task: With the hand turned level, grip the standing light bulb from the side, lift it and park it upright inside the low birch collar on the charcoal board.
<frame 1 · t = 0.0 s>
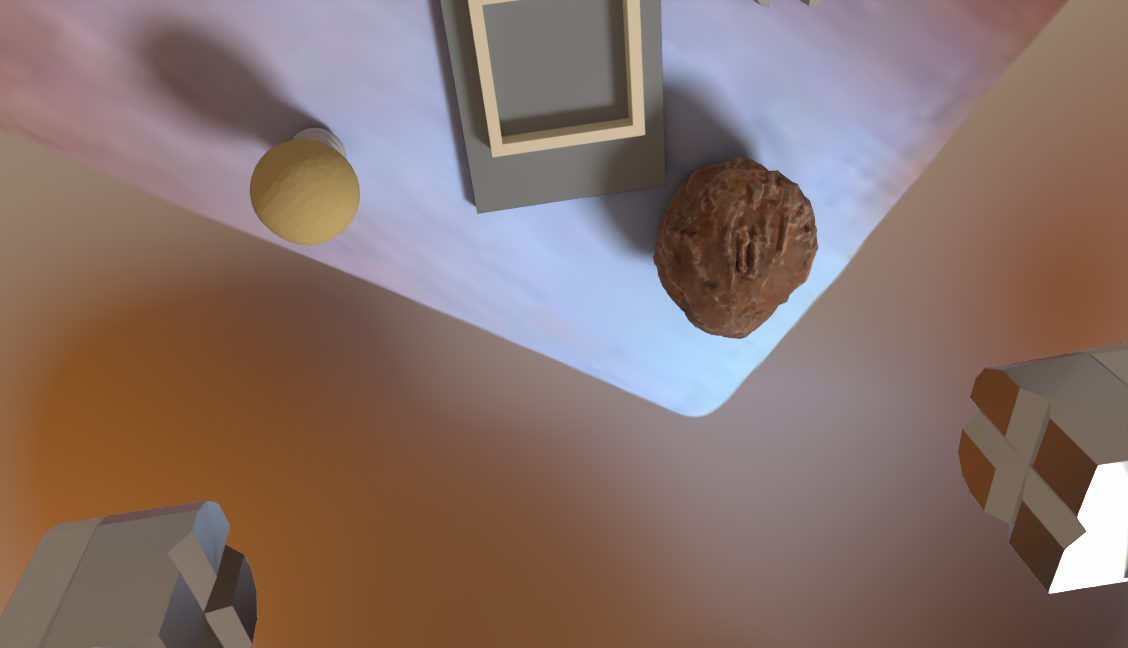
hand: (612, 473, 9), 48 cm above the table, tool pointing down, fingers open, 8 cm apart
decorative rock: (712, 217, 63), on the table
light bulb: (318, 149, 55), on the table
board: (556, 57, 54), on the table
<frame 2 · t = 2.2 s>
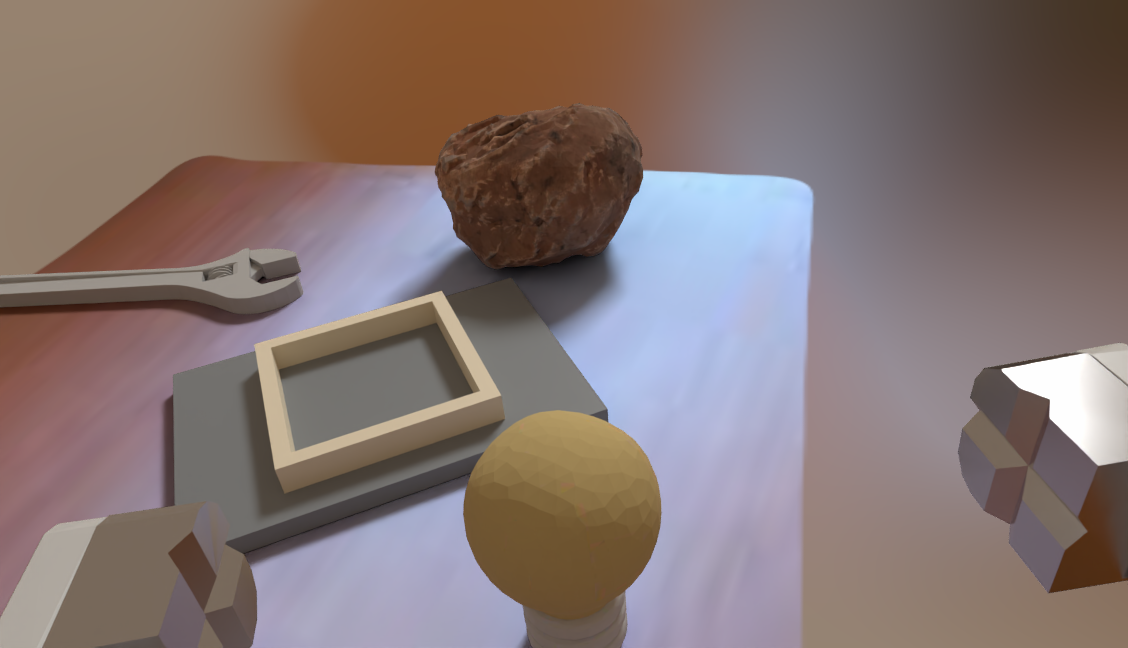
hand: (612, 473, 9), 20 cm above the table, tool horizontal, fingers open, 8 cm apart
decorative rock: (548, 250, 55), on the table
adjustable wrench: (140, 294, 55), on the table
light bulb: (578, 637, 30), on the table
board: (380, 405, 42), on the table
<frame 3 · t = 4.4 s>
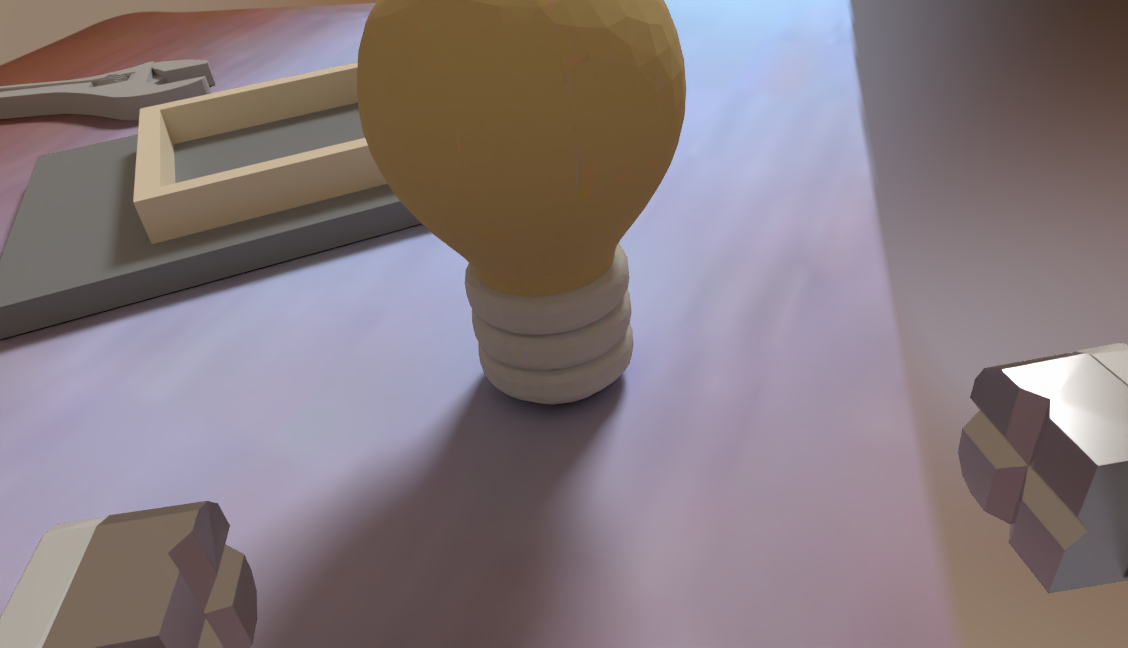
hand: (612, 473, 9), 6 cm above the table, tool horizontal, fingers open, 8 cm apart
adjustable wrench: (20, 118, 45), on the table
light bulb: (560, 377, 20), on the table
board: (302, 176, 32), on the table
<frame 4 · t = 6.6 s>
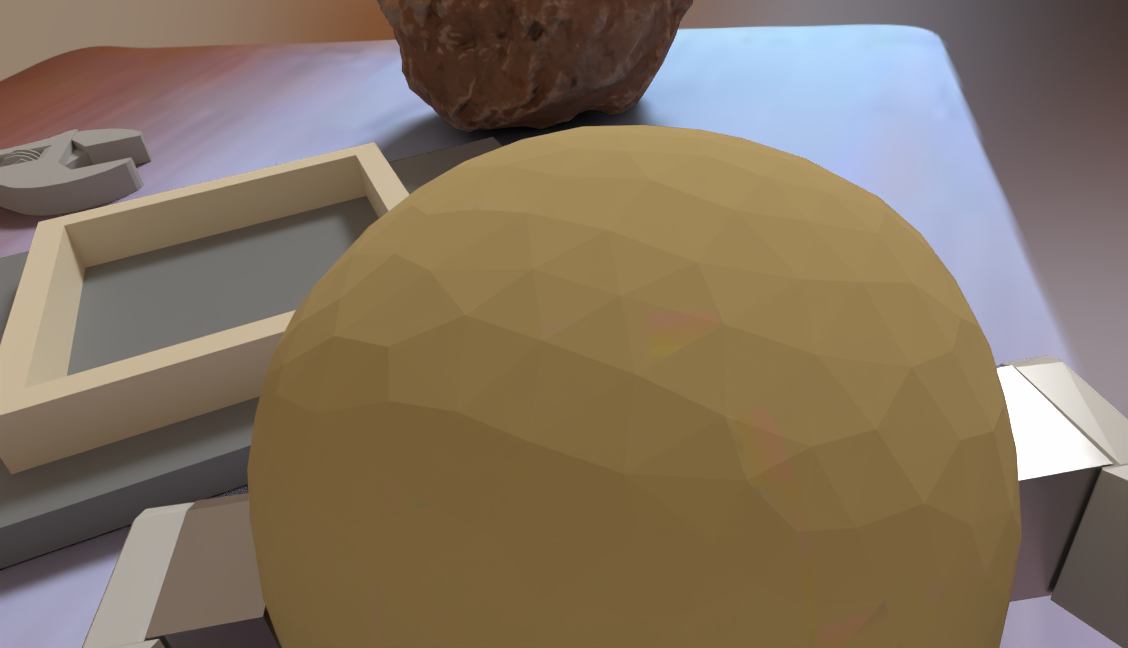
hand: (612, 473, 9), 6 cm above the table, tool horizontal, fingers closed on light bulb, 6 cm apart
decorative rock: (551, 115, 36), on the table
board: (254, 321, 23), on the table
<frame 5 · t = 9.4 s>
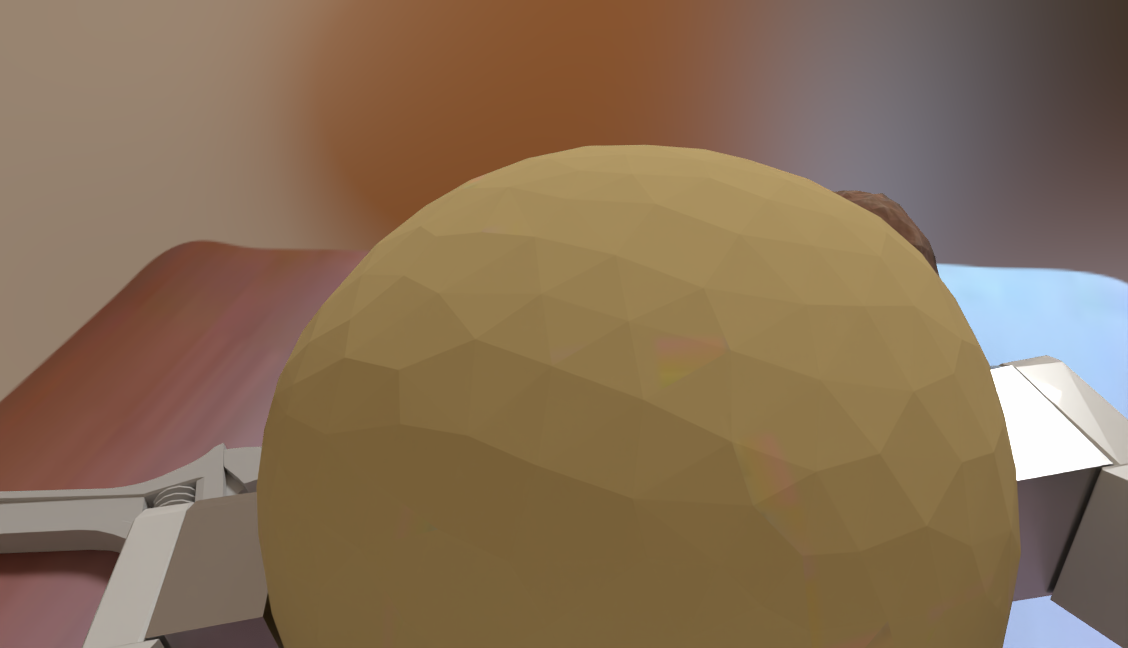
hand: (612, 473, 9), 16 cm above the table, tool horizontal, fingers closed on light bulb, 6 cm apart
decorative rock: (756, 419, 33), on the table
adjustable wrench: (45, 527, 33), on the table
when the fingers open (8 cm above the table, at t = 12.4 s): light bulb stays where it is, resting on board.
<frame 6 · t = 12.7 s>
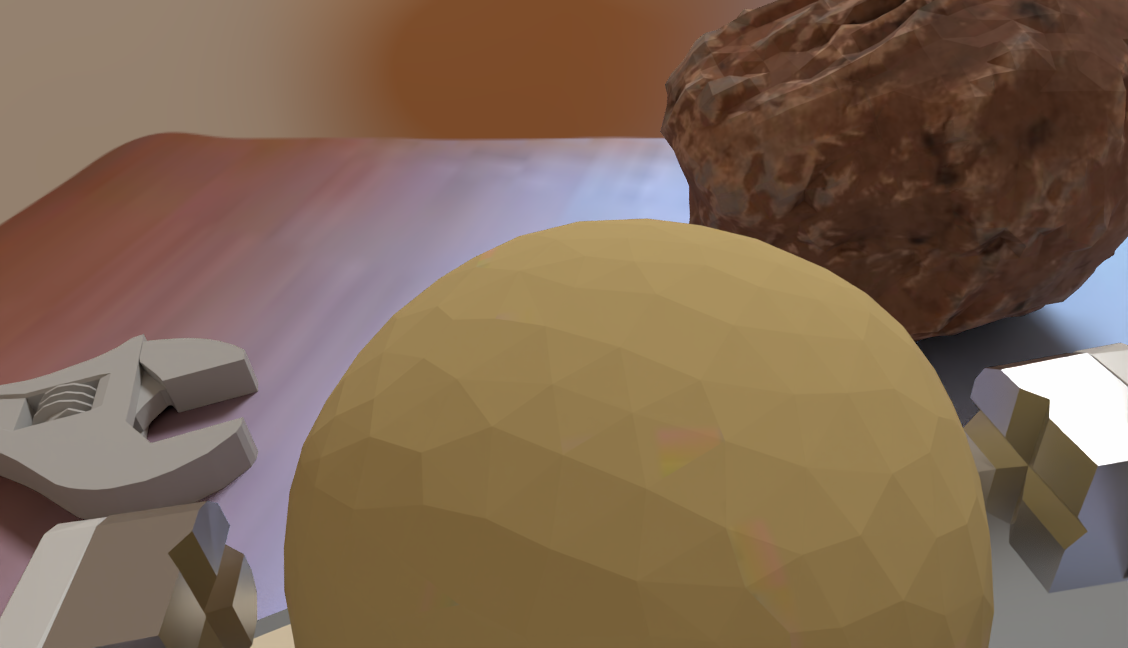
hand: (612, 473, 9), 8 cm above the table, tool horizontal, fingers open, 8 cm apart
decorative rock: (881, 301, 25), on the table
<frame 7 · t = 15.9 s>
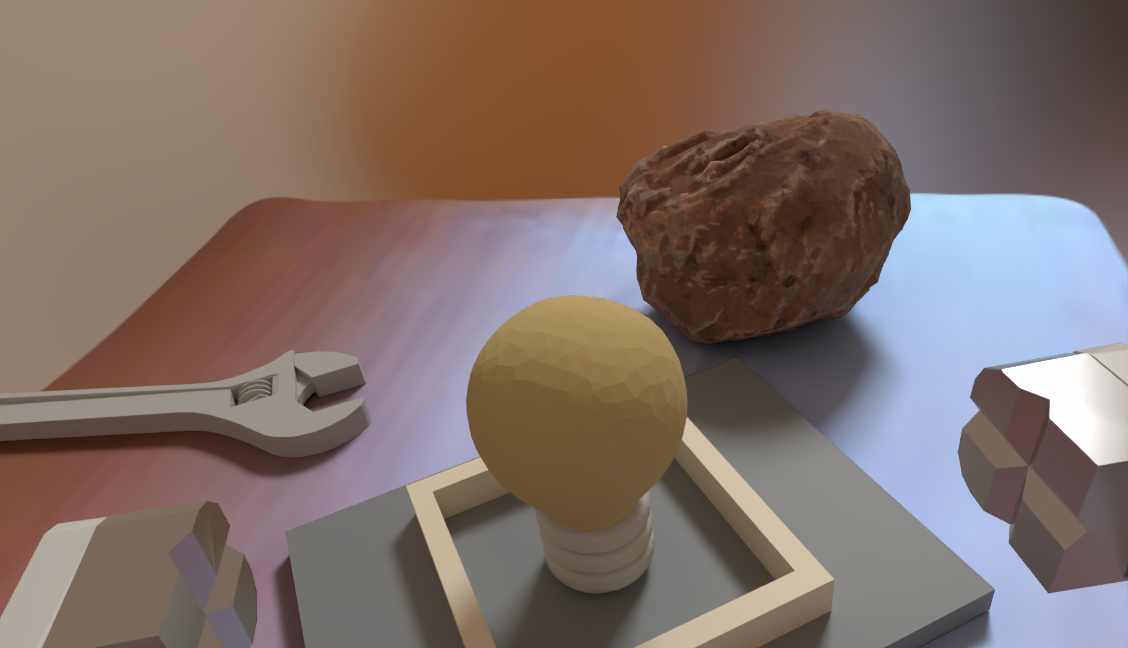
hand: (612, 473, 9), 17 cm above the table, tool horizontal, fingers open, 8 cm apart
decorative rock: (760, 310, 40), on the table
adjustable wrench: (148, 418, 40), on the table
light bulb: (601, 561, 27), point 1 cm above the table, touching board
board: (605, 576, 28), on the table
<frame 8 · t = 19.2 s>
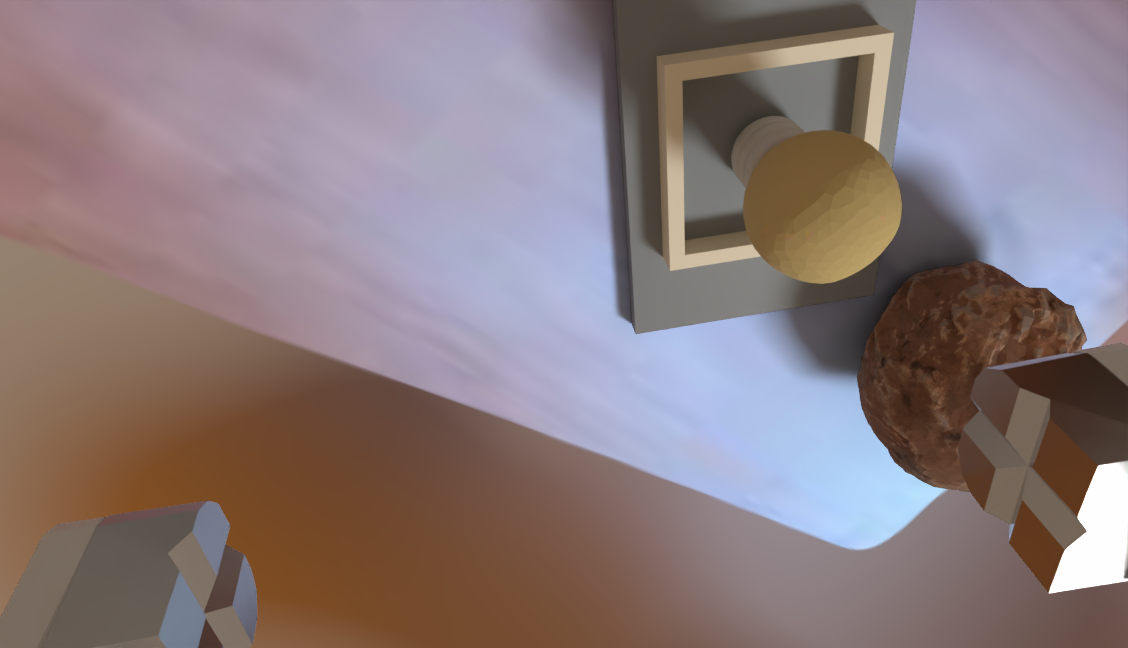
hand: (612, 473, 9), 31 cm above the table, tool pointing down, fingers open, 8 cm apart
decorative rock: (918, 328, 50), on the table
light bulb: (761, 146, 40), point 1 cm above the table, touching board
board: (756, 141, 41), on the table
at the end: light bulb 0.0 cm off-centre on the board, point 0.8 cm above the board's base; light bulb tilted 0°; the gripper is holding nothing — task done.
